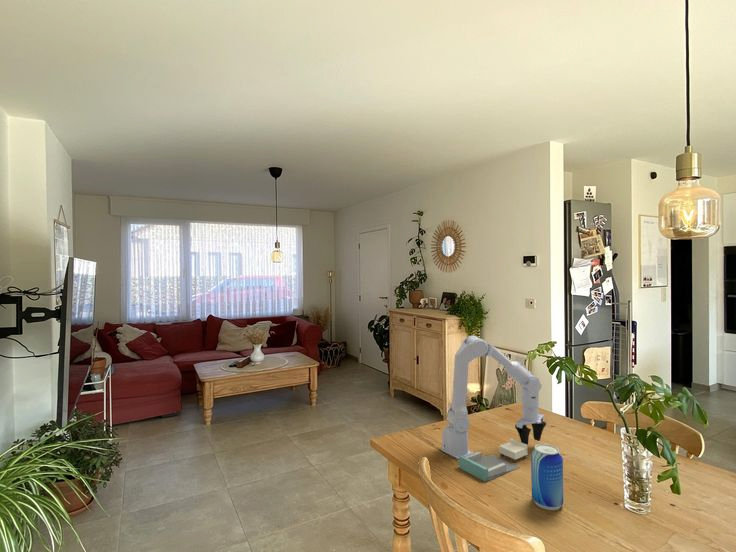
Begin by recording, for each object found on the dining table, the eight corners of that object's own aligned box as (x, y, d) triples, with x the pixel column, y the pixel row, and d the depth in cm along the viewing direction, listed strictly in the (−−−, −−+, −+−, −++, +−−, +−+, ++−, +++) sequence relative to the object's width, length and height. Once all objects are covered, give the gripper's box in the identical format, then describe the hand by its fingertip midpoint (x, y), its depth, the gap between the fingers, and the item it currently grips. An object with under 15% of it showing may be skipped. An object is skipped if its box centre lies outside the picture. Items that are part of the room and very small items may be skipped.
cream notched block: (498, 456, 146) (498, 442, 146) (511, 451, 150) (511, 438, 150) (515, 463, 140) (514, 449, 140) (527, 458, 144) (527, 444, 144)
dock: (458, 469, 138) (458, 455, 138) (492, 455, 148) (492, 443, 148) (486, 484, 128) (486, 469, 128) (520, 468, 138) (520, 455, 138)
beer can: (545, 514, 111) (544, 456, 111) (525, 498, 119) (524, 444, 119) (570, 509, 113) (569, 452, 113) (549, 493, 121) (548, 441, 121)
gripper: (528, 413, 144) (528, 451, 144) (551, 405, 151) (552, 441, 152) (511, 408, 149) (511, 444, 149) (534, 401, 157) (535, 435, 157)
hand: (530, 442), depth 151 cm, fingers open, 7 cm apart
